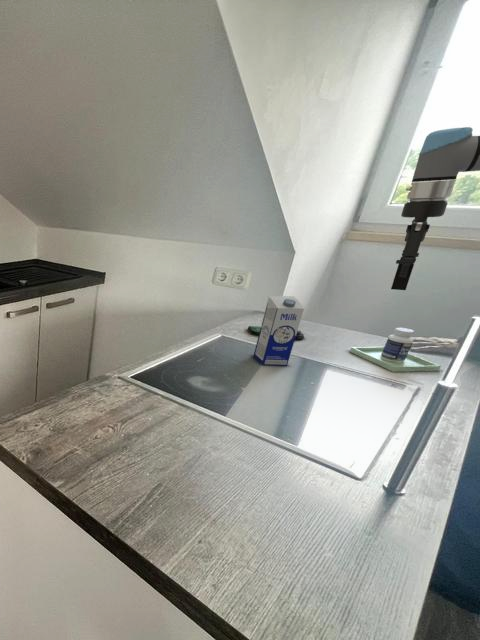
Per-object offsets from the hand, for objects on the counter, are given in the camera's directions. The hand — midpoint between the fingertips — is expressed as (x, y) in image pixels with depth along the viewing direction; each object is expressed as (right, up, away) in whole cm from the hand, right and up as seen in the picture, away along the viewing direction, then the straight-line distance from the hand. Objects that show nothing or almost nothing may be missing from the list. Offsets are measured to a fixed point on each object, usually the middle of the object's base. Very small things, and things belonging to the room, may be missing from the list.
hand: (399, 285), depth 104 cm
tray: (+13, -20, +15) cm, 28 cm away
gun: (-7, -11, +37) cm, 39 cm away
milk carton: (-23, -21, +17) cm, 35 cm away
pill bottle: (+13, -20, +14) cm, 28 cm away
